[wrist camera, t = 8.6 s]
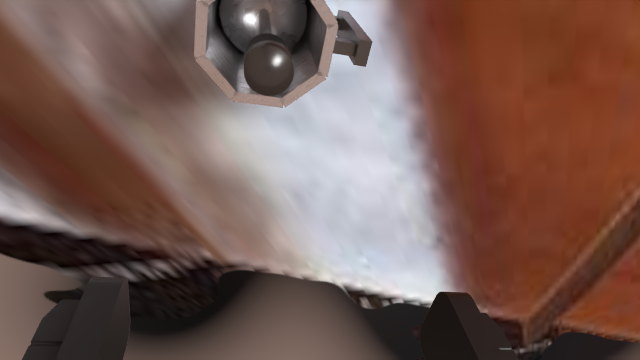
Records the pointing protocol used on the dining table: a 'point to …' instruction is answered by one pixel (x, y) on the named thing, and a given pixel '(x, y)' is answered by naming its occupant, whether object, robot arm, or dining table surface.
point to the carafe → (306, 54)
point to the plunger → (265, 39)
